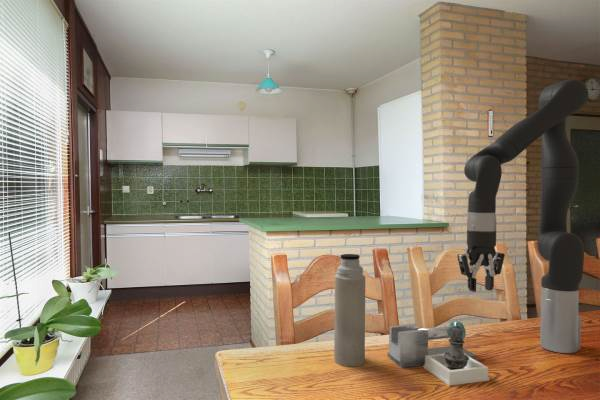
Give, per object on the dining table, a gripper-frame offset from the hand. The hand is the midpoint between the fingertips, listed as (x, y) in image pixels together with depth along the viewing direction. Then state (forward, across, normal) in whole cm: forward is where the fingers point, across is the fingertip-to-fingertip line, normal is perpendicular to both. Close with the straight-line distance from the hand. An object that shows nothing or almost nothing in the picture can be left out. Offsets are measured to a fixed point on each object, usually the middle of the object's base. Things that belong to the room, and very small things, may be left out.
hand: (480, 290), depth 123 cm
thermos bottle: (+18, +37, -4) cm, 41 cm away
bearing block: (+17, +15, 0) cm, 23 cm away
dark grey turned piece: (+17, +15, +10) cm, 25 cm away
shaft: (+13, +13, 0) cm, 18 cm away
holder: (+17, +15, +10) cm, 25 cm away
